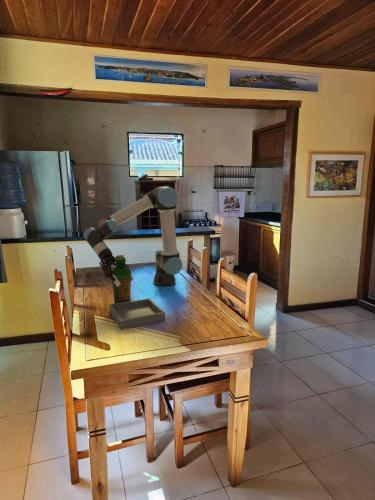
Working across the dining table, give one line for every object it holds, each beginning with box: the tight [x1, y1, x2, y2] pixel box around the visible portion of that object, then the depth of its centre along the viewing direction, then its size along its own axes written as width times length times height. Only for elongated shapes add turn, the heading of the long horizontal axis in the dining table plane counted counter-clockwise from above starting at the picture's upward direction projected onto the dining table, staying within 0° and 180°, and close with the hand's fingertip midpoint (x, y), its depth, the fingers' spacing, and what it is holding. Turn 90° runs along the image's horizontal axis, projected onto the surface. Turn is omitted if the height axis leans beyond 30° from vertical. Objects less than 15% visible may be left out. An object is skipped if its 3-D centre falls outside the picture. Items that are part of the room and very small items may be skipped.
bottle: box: [111, 254, 132, 304], centre depth 176 cm, size 11×11×28 cm
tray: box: [108, 297, 166, 331], centre depth 162 cm, size 22×22×4 cm
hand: (125, 282), depth 175 cm, fingers closed on bottle, 10 cm apart
